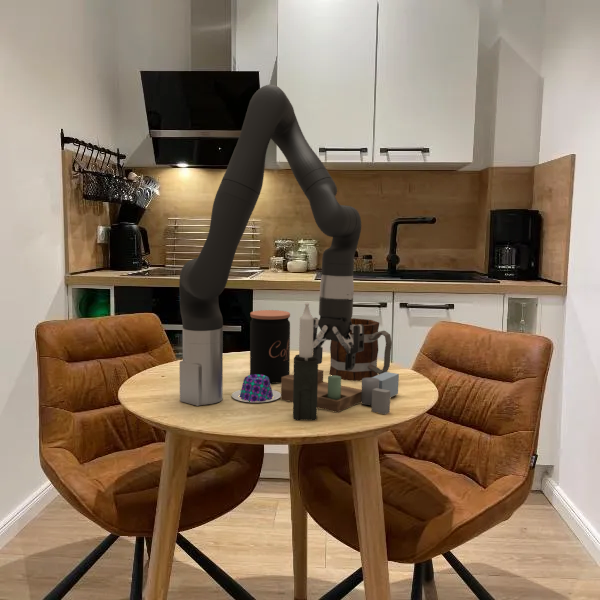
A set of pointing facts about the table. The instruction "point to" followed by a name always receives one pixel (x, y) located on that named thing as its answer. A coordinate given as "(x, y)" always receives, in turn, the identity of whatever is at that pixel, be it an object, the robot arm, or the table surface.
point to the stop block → (381, 400)
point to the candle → (305, 372)
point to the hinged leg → (379, 385)
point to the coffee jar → (270, 344)
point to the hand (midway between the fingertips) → (333, 366)
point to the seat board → (323, 394)
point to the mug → (361, 354)
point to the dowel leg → (334, 387)
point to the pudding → (256, 389)
